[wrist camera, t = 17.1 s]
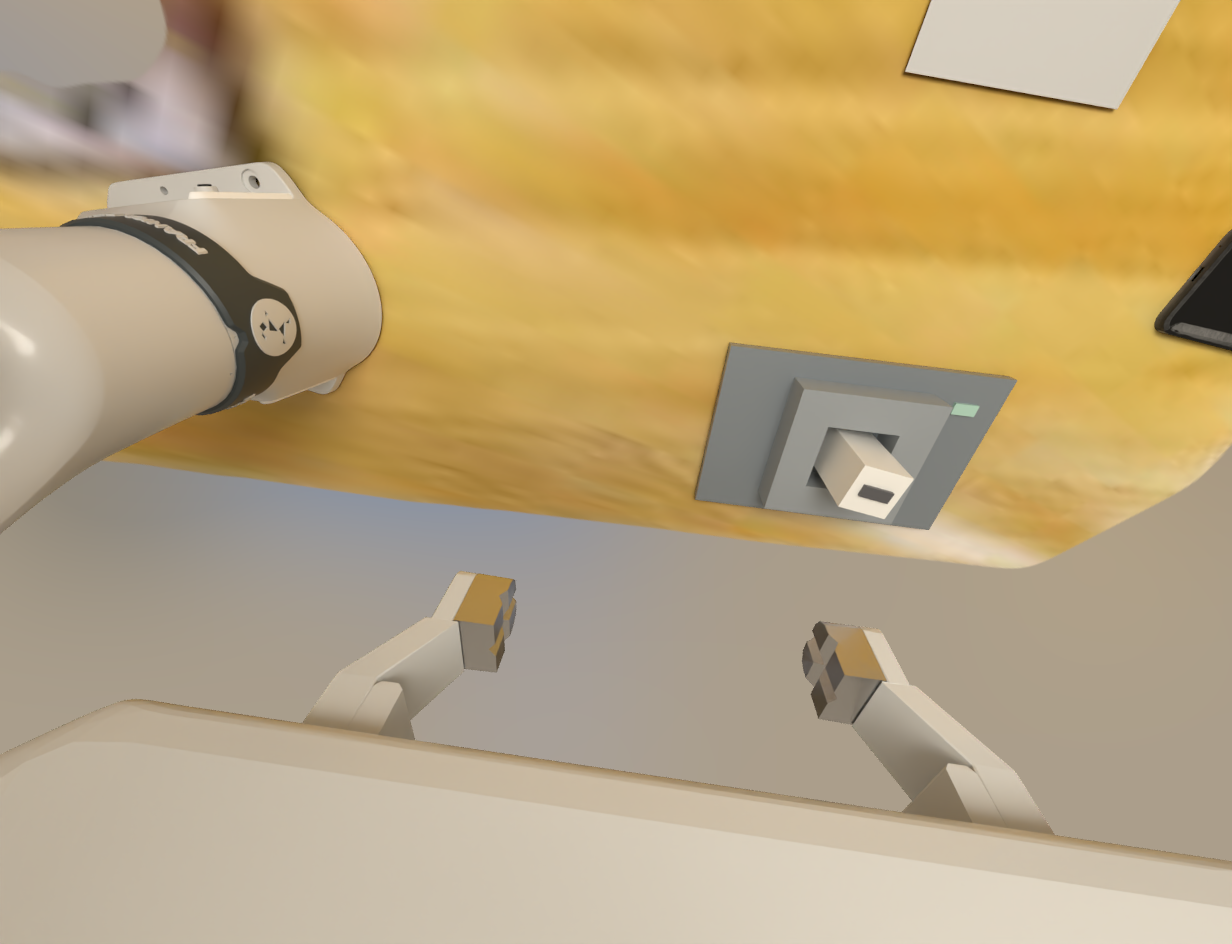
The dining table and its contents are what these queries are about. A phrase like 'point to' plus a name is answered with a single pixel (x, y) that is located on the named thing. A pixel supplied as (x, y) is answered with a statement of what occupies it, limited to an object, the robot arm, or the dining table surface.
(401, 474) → the dining table surface
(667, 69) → the dining table surface
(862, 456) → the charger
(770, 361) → the power dock
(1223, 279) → the phone
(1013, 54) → the paper stack
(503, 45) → the dining table surface
